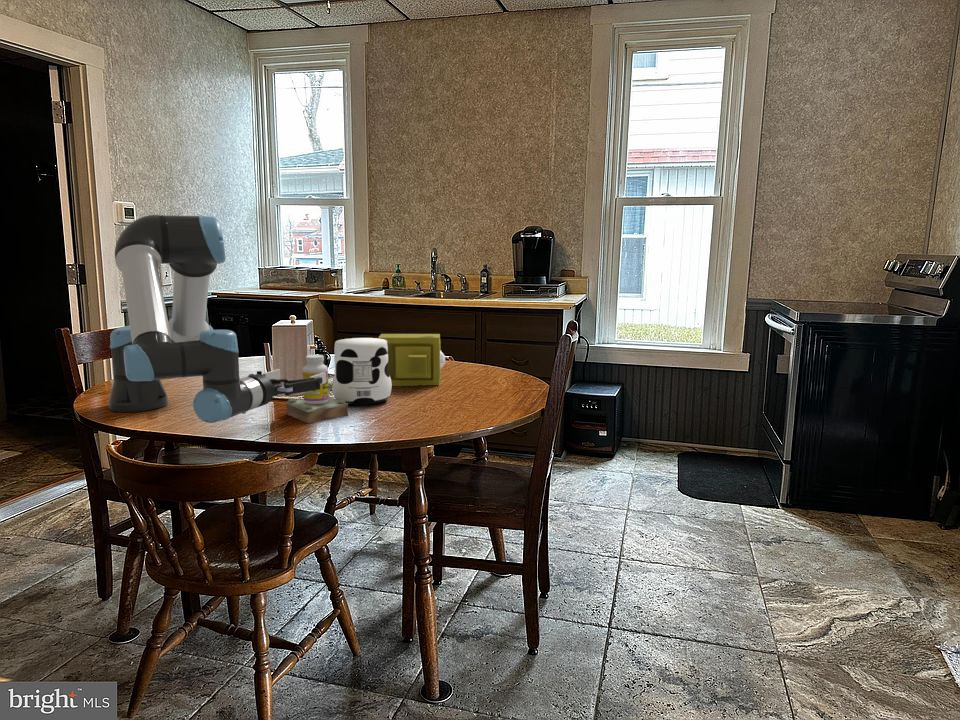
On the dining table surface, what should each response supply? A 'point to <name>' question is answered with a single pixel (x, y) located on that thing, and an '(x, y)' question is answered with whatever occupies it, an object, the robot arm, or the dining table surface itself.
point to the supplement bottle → (312, 369)
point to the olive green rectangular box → (414, 359)
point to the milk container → (361, 371)
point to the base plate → (317, 410)
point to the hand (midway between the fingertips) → (301, 375)
